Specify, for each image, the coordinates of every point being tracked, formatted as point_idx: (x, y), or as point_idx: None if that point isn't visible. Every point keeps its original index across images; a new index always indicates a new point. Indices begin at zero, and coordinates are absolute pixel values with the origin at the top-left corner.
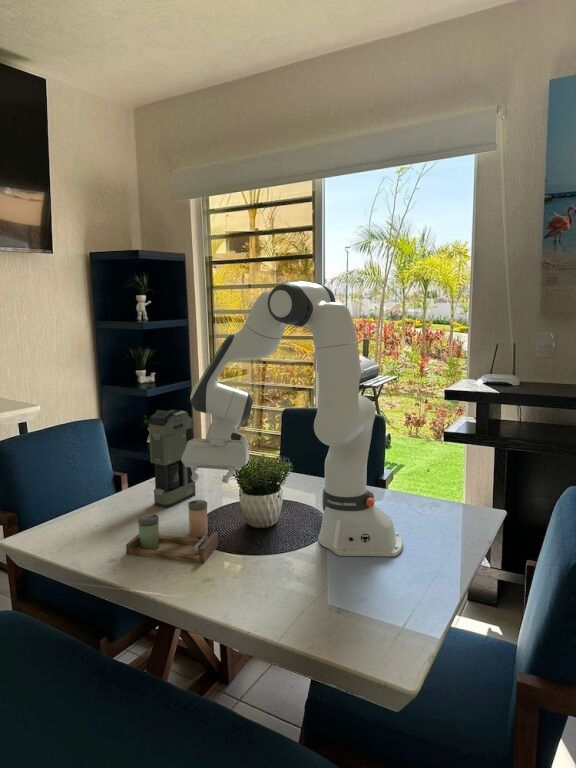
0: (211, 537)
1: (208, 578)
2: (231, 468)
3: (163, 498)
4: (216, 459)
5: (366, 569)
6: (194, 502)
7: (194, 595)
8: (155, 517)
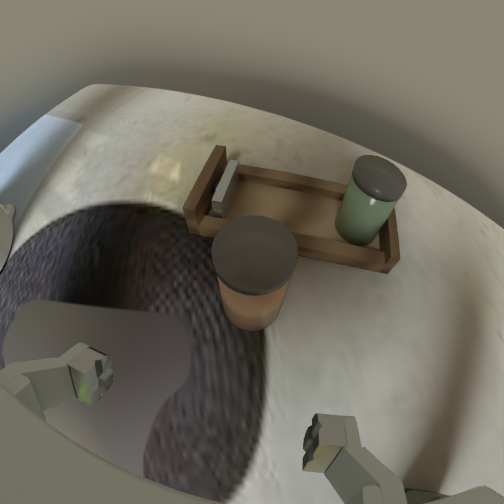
0: (200, 183)
1: (208, 140)
2: (7, 374)
3: (425, 493)
4: (75, 497)
5: (13, 182)
6: (272, 259)
7: (225, 116)
8: (366, 175)
